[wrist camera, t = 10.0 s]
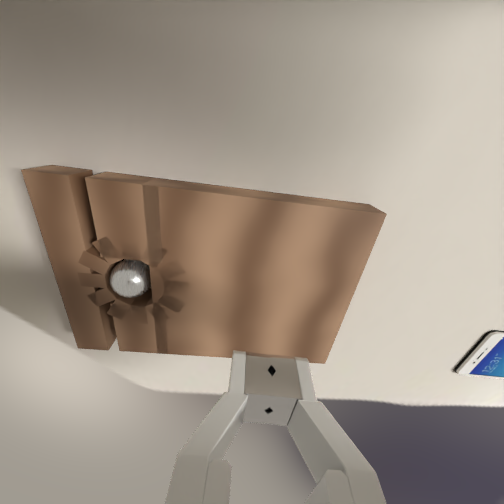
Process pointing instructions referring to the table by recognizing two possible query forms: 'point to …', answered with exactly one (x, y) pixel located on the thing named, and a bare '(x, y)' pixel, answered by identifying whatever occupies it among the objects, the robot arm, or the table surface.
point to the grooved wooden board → (201, 262)
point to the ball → (130, 278)
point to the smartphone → (485, 357)
